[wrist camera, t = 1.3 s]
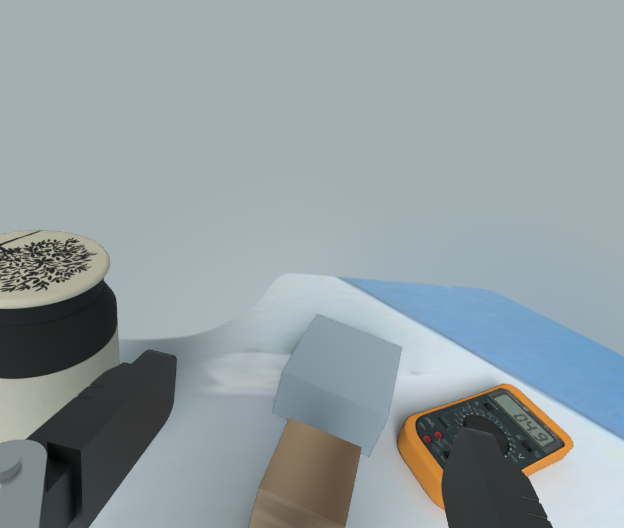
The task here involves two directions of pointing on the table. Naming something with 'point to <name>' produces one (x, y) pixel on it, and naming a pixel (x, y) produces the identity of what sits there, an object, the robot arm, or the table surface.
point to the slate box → (340, 382)
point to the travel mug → (51, 325)
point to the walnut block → (307, 480)
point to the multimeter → (487, 418)
